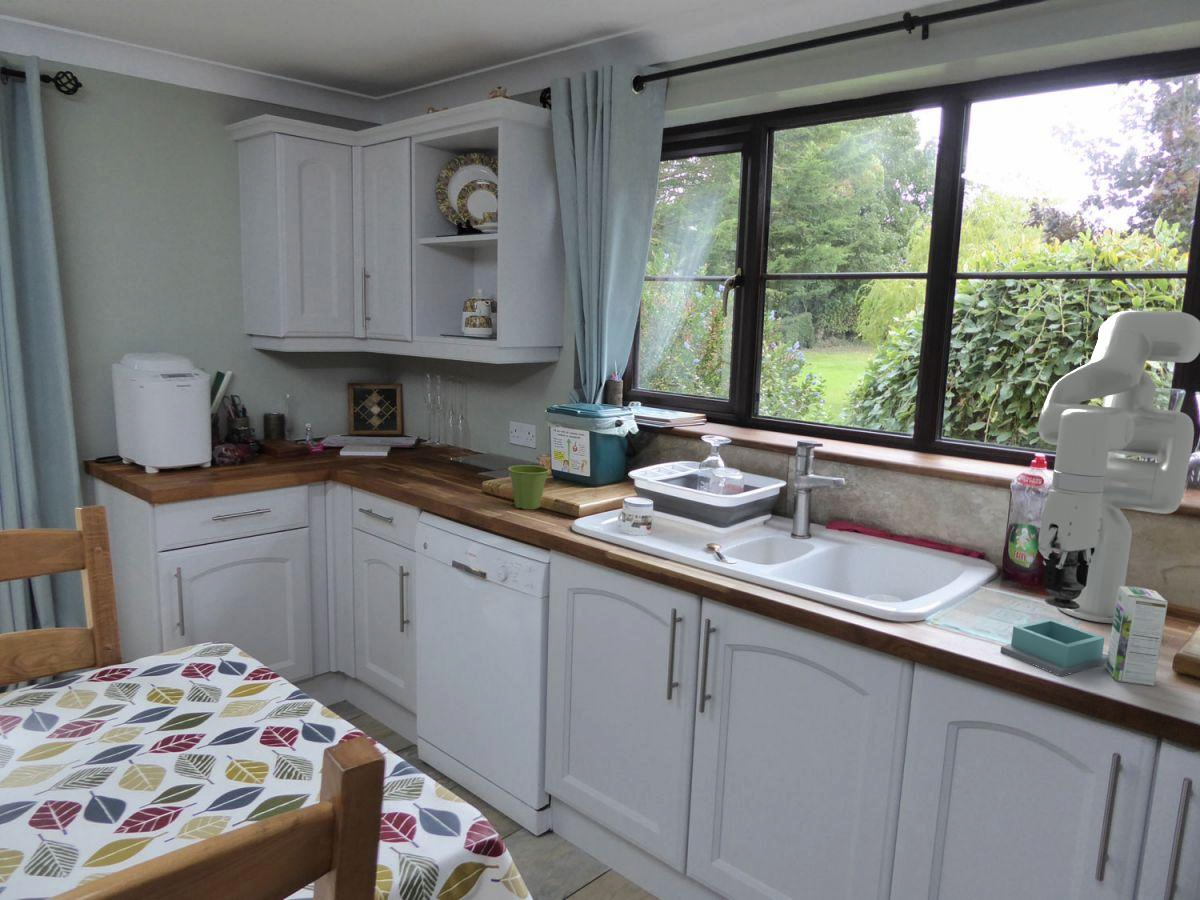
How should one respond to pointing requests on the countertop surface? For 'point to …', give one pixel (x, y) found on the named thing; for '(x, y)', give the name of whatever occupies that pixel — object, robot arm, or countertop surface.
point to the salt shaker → (1067, 585)
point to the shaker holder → (1056, 647)
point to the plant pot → (528, 485)
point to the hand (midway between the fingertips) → (1064, 586)
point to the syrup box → (1136, 635)
